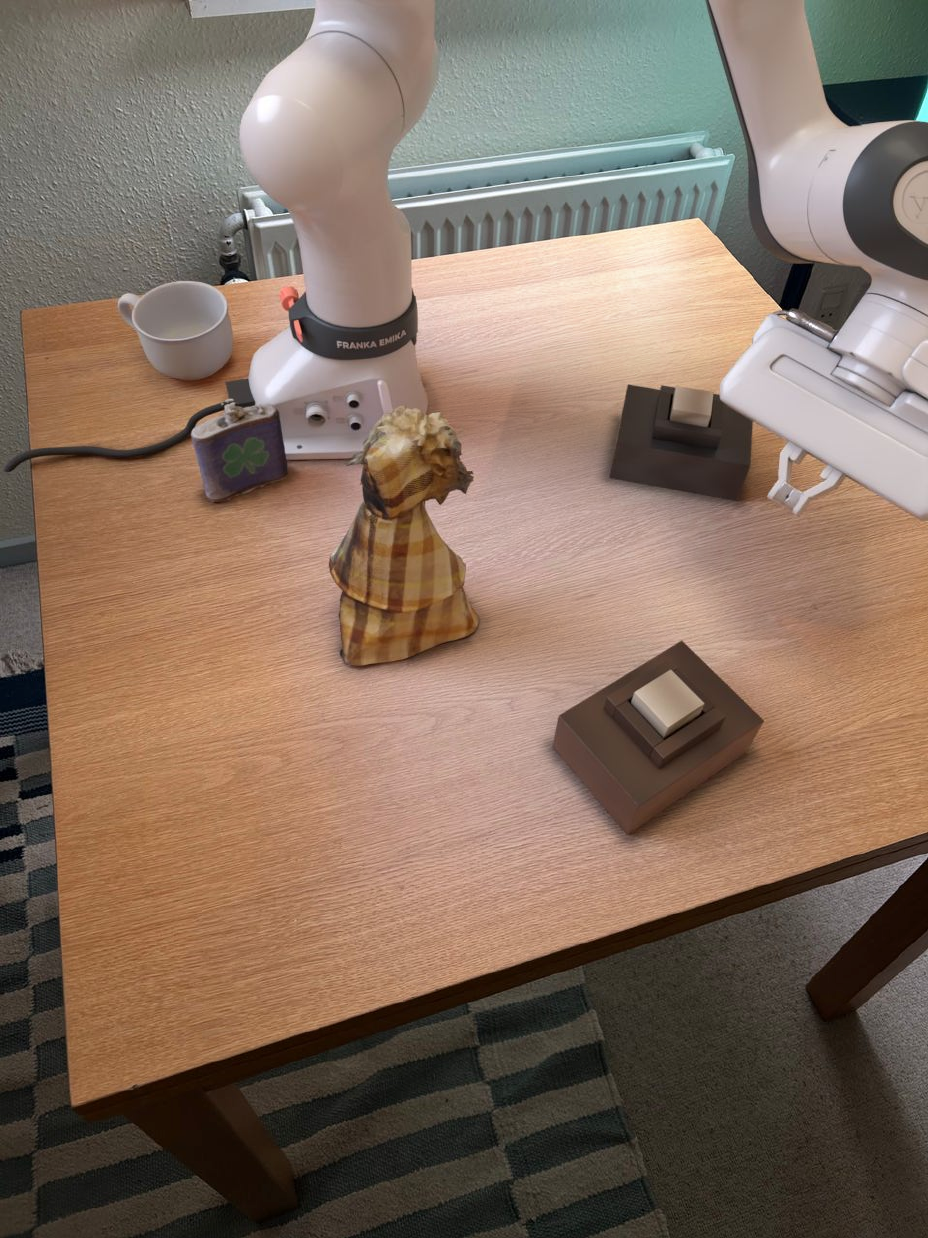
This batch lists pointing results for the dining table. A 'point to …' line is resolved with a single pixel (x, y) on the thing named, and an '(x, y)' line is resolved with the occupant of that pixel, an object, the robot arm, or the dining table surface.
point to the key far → (691, 406)
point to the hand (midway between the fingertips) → (782, 507)
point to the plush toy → (402, 544)
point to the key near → (667, 703)
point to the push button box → (653, 739)
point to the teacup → (181, 328)
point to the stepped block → (681, 446)
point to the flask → (240, 450)
